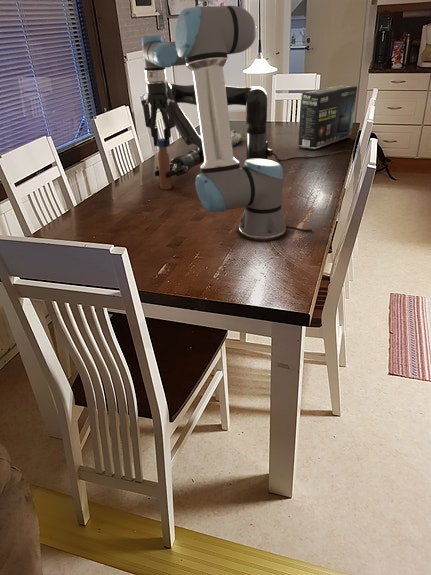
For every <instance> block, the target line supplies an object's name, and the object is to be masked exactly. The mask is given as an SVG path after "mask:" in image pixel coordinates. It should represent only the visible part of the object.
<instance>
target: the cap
mask: <svg viewBox="0 0 431 575" xmlns="http://www.w3.org/2000/svg"><path fill="white" fill-rule="evenodd" d="M156 144H157V146H156V147H157V148H158V147H165V138H158V139H157V140H156Z"/></svg>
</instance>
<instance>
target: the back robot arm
mask: <svg viewBox="0 0 431 575" xmlns="http://www.w3.org/2000/svg"><path fill="white" fill-rule="evenodd" d="M165 82H166V85H167V96H168V99H170V100H174V101H175V104H174V118H175V127H174V128H175V129H176V131H177V133H178V134H179V136H180V137H181V139H182V140H183V142H184V143H185V145H187V146H192V145H195V146H196V147H195V148H193V149H192V150H189V151H186V152H185V153H181V154H179V155H177V156H175V157H172V159H170V171H168V172H166V178H169V177H171V178H172V177H175V176H176V177H180V176H183V175H185V174H188V172H189V171H190V170H192V169H193V168H194V167H197V166H199V165H202V164H203V163H204V153H203V146H202V138H201V135H199V134H198V132H197V131H196V129H195V127H194V125H193V124H192V122H191V121H190V119H189V118H188V117H187V116H186V115H185V113H184V111H183V110H182V109H181V107H180V106H179V104H189V105H194V106H197V101H196V94H195V86H194V84H188V85H182V84H174V83H170V82H167V81H165ZM225 88H226V96H227V105H228V106H233V105H234V106H235V105H237V106H245V123H246V125H245V126H246V127H245V128H246V129H245V132H246V133H245V134H246V135H245V137H246V138H245V140H246V142H245V143H246V145H245V146H246V148H245V149H246V156H245V157H246V160H248V159H267V160H269V158H271V157H273V156H274V157H275V159H276V158H278V155H277V154H276V153H275V152H274V149H272V148H269V142H268V141H267V134H268V132H267V128H268V127H267V126H268V94H267V91H266V90H265V88H263V87H261V86H242V87H241V86H240V87H239V86H230V85H225ZM166 108H167V114H168V117H169V112H168V103H167V104H166ZM352 152H353V153H355V154H356V153H357V152H356V151H355V150H354V151H352ZM327 154H328V155H327ZM327 154H323V155H316V156H293V157H288V158H285V159H279V158H278V159H276V161H278V162H283V161H290V160H296V159H298V160H299V159H302V160H303V159H318V158H319V159H320V158H324V157H329V156H330V155H329V154H330V153H327ZM246 160H245V161H246ZM154 177H159V169H158V165H157V166H156V167H155V170H154Z"/></svg>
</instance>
